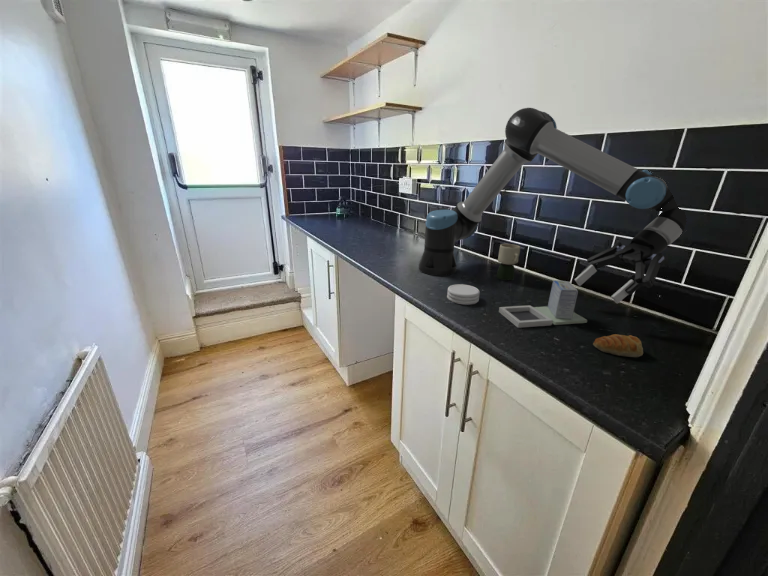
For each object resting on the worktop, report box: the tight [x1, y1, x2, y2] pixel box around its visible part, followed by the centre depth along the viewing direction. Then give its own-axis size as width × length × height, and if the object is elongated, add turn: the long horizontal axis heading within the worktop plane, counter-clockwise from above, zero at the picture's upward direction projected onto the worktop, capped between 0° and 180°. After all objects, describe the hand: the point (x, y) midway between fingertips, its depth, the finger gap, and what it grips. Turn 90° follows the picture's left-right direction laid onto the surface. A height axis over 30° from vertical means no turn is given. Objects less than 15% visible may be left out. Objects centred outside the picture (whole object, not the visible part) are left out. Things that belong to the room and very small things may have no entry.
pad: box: [533, 305, 588, 326], centre depth 93 cm, size 10×10×1 cm
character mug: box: [496, 243, 521, 281], centre depth 121 cm, size 11×7×13 cm, turn 13°
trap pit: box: [498, 304, 553, 329], centre depth 91 cm, size 10×10×2 cm
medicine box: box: [547, 280, 579, 319], centre depth 92 cm, size 8×4×9 cm, turn 169°
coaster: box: [446, 283, 481, 306], centre depth 104 cm, size 10×10×4 cm
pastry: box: [592, 333, 644, 358], centre depth 76 cm, size 9×7×4 cm
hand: (594, 290), depth 93 cm, fingers open, 13 cm apart
